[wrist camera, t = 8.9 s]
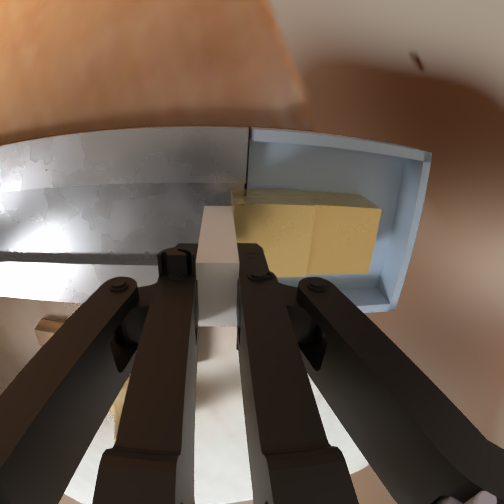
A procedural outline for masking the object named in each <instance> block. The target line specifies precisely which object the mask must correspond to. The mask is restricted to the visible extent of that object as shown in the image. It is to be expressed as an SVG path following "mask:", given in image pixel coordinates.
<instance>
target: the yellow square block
mask: <svg viewBox="0 0 504 504" xmlns="http://www.w3.org/2000/svg"><path fill="white" fill-rule="evenodd" d="M230 206H232V209H233V217H234V225H235V233H236V241H237V243H257V244H258V245H260V246H261V247H262V248H263V251H264V254H265V258H266V261H267V264H268V268H269V271H271V272H273V273H274V274H275V275H276V277H306V273H307V266H308V259H309V252H310V245H311V238H312V230H313V222H314V215H315V205H314V204H313V203H312V202H311V201H310V200H309V199H308V198H307V197H306V196H305V195H304V194H303V193H302V192H301V191H295V190H270V189H231V204H230Z"/></svg>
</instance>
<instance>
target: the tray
mask: <svg viewBox="0 0 504 504" xmlns="http://www.w3.org/2000/svg"><path fill="white" fill-rule="evenodd" d="M431 159H432V153H430V152H427V151H423V150H420V149H416V148H413V147H409V146H405V145H399V144H394V143H388V142H383V141H377V140H371V139H365V138H358V137H351V136H344V135H337V134H329V133H320V132H311V131H301V130H290V129H277V128H262V127H250V128H249V146H248V164H247V183H246V189H270V190H295V191H299V190H304V191H321V192H336V193H350V194H360V195H362V196H363V197H365V198H366V199H368V200H369V201H371V202H372V203H374V204H375V205H377V206H378V207H380V208H381V209H382V210H381V216H380V221H379V226H378V231H377V236H376V241H375V246H374V250H373V255H372V259H371V263H370V268H369V272H368V274H322V275H306V277H277V280H278V282H279V283H281V284H284V285H288V286H294V287H298V284H299V281H300V280H302V279H303V278H307V277H321V278H323V279H326V280H328V281H330V282H331V283H333V284H334V285H335V286H336V287H337V288H338V289H339V290H340V291H341V292H342V293H343V294H344V295H345V296H346V297H347V298H348V299H350V300H351V301H352V302H353V303H354V304H355V305H356V306H357V307H358V308H359V309H360V310H361V311H362V312H363V313H369V312H383V311H395V309H396V305H397V302H398V299H399V296H400V293H401V290H402V287H403V283H404V280H405V277H406V273H407V270H408V266H409V262H410V259H411V255H412V251H413V248H414V243H415V240H416V236H417V231H418V227H419V223H420V218H421V213H422V209H423V204H424V199H425V194H426V189H427V184H428V178H429V172H430V166H431Z"/></svg>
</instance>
